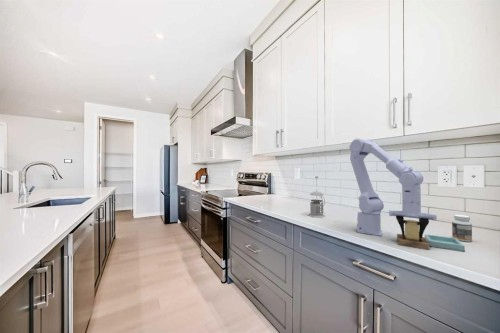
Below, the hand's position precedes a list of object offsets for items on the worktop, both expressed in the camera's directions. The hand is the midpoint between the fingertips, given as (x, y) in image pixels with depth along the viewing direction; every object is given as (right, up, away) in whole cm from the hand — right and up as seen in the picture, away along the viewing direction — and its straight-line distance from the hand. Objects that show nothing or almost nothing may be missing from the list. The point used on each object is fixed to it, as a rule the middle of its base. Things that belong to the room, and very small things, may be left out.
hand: (411, 236), depth 80 cm
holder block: (0, -3, 0) cm, 3 cm away
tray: (+11, -3, -1) cm, 12 cm away
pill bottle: (+24, -3, +4) cm, 25 cm away
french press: (-21, -4, +48) cm, 53 cm away
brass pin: (0, -3, 0) cm, 3 cm away
